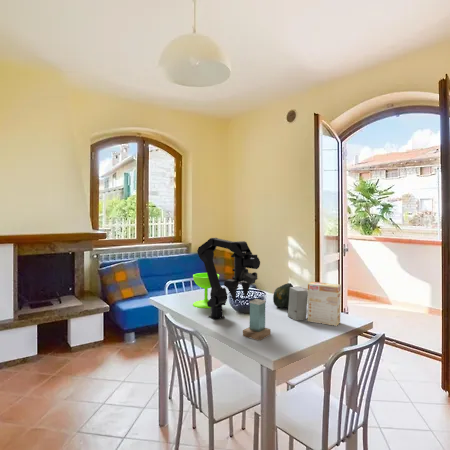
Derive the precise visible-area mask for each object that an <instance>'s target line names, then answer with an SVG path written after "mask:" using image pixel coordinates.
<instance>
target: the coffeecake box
mask: <svg viewBox="0 0 450 450" xmlns="http://www.w3.org/2000/svg"><path fill="white" fill-rule="evenodd" d="M341 285H342V284H338V283H326V282H319V281H310V282H309V283H307V291H308V297H307V322H311V323H315V324H316V323H317V324H321V323H322V324H323V325H329V326H333V325H334V326H333V327H338V326H339V325H340V324H341V298H342V297H341V294H342V293H341V292H342V291H341V289H342V286H341ZM339 323H340V324H339ZM337 325H338V326H337Z"/></svg>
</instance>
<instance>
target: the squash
mask: <svg viewBox="0 0 450 450" xmlns="http://www.w3.org/2000/svg"><path fill="white" fill-rule="evenodd" d="M290 287H294V285H293V284H292V282H288V283H285V284H283V285H279V286H278V287H276V288H275V289H274V292H273V295H272V296H273V297H272V300H273V304H274V306H275V307H276V308H282V309H283V308H288V306H289V292H290Z"/></svg>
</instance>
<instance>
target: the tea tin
mask: <svg viewBox="0 0 450 450" xmlns="http://www.w3.org/2000/svg"><path fill="white" fill-rule="evenodd" d="M266 303H267V302H266V300H264V299H259V298H254V299H251V300H249V327H250V330H253V331H257V332H260V331H262V330H264V329H265V328H266Z"/></svg>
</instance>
